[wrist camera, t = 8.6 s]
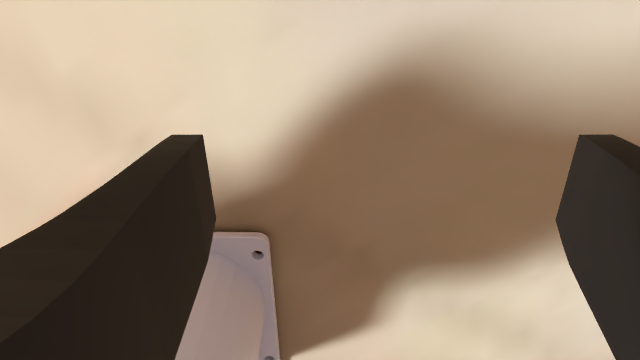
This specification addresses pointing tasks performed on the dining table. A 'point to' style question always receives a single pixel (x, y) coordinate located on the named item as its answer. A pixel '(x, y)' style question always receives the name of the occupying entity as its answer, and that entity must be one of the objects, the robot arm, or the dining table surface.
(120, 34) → the dining table surface
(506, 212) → the dining table surface
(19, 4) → the dining table surface
